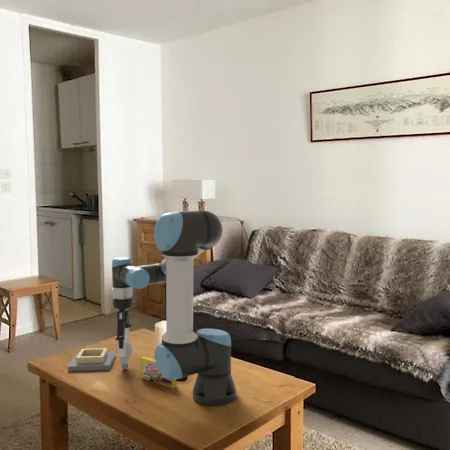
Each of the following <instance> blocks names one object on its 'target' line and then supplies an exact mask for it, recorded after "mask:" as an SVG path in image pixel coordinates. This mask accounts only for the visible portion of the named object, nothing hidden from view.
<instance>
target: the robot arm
mask: <svg viewBox="0 0 450 450" xmlns="http://www.w3.org/2000/svg"><path fill="white" fill-rule="evenodd" d="M153 231H154V232H153V239H154V242H155V243H154V244H155V246H156V248H157V249H158V250H159V251H161V256H162V257H164V259H163V260H161V261H160V262H159V263H152V264H142V265H133V262H132V258H131V257H129V256H118V257H114V258H112V260H111V261H112V262H111V275H112V276H111V277H112V288H111V289H110V291H111V292H112V297H113V298H112V307H113V308H114V309H116V310H117V309H118V311H117V313H116V316H117V321H116V322H117V325H116V326H117V328H116V337H115V341H117V346H118V354H117V357H119V356H125V342H127V343H129V344H130V328H131V327H132V325H131V323H130V314H129V313H130V312H129V309H130V308H132V307H133V306H134V305H133V303H134V301H133V297H132V296H133V294H134V293H133V289H136V290H141V289H144V288H145V287H147V286H151V285H156V284H163V283H166V285H165V286H166V287H165V288H166V291H165V292H166V297H165V298H166V301H165V302H166V305H165V306H166V308H165V309H166V310H165V312H166V315H165V316H166V319H165V322H166V324H165V325H166V328H165V329H166V330H165V332H164V333H163V334H162V335H161V344H158V345H156V347H155V349H154V355H153V356H154V359H155V362H156V365H157V367H158V369H159V371H160V373H161V374H162V376H163V377H164V378H166V379H168V380H174V379H176V380H178V379H179V380H180V379H182V378H185V377H189V376H194V375H196V378H195V382H194V385H193V388H192V400H194V401H195V402H196V403H198V404H200V405H205V406H212V407H213V406H223V405H227V404H230V403H232V402H234V401H235V400H236V398H237V388H236V385H235V382H234V379H233V375H232V339H231V335H230V333H228V332H227V331H225V330H222V329H218V328H201V329H197V330H196V332H194V260H195V259H196V258H198V257H199V255H200V254H202V253H203V252H204V251H209V250H212V248H214V247H215V246H216V245H217V244H218V242H220V240H221V238H222V236H223V224H222V222H221V220H220V219H219V217H218V216H217V215H216V214H214V213H213V212H211V211H209V210H202V209H201V210H191V211H190V210H187V211H186V210H185V211H172V212H171V211H170V212H166V213H163V214H161V215H160V216H159V217H158V219H157V221H156V223H155V226H154V230H153Z"/></svg>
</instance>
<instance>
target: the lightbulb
mask: <svg viewBox="0 0 450 450" xmlns="http://www.w3.org/2000/svg"><path fill="white" fill-rule="evenodd" d="M132 352H133V347H132V345H131V344H130V342H129V343H127V342H125V356H118V358H119V361H120V364H121V366H120V367H121V369H122V370H124V371H125V370H126V371H127V369H128V368H129V361H130V357H131V354H132ZM115 353H116V354H117V355H118V345H117V347H116V350H115Z"/></svg>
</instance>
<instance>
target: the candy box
mask: <svg viewBox="0 0 450 450" xmlns="http://www.w3.org/2000/svg"><path fill="white" fill-rule="evenodd" d="M140 370H141V379H142V380H143V379H144V380H147V381H149V380H151V379H152V380H153V381H154V382H153V383H155V382H157V383H156V384H159V383H160V384H159V385H162V384H163V386H165V385H166V386H165V387H168V386H169V388H171V389H175V388H177V387H178V386H177V379H174V380H168V379H166V378H164V377H163V376H162V374H161V373H160V371H159V369H158V367H157V365H156V362H155V358H151V357H147V356H142V357H140Z"/></svg>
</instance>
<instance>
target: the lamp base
mask: <svg viewBox="0 0 450 450" xmlns="http://www.w3.org/2000/svg"><path fill="white" fill-rule="evenodd" d="M115 357H116V350H112V351H108V348H107V347H99V348H98V347H96V348H93V347H92V348H81V349H80V351H79V352H76V353H75V354H74V356H73V357H72V359H71V361H70V363H69V364H68V366H67V372H68V371H69V372H88V371H89V372H91V371H92V372H93V371H94V372H95V371H96V372H97V371H110V369H111V367H112V364H113V362H114V360H115Z"/></svg>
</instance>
